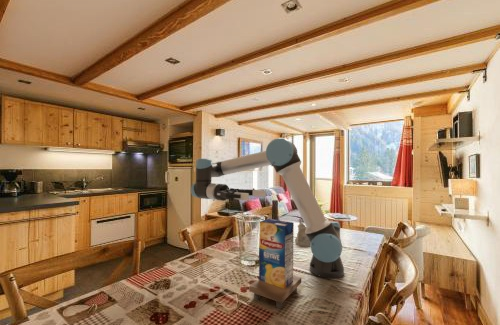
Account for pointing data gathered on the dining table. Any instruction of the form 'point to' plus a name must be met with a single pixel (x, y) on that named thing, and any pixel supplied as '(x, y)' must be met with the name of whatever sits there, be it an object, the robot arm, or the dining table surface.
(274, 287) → the small low table
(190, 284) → the dining table surface
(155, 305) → the dining table surface
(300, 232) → the ceramic cottage
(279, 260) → the beverage box
